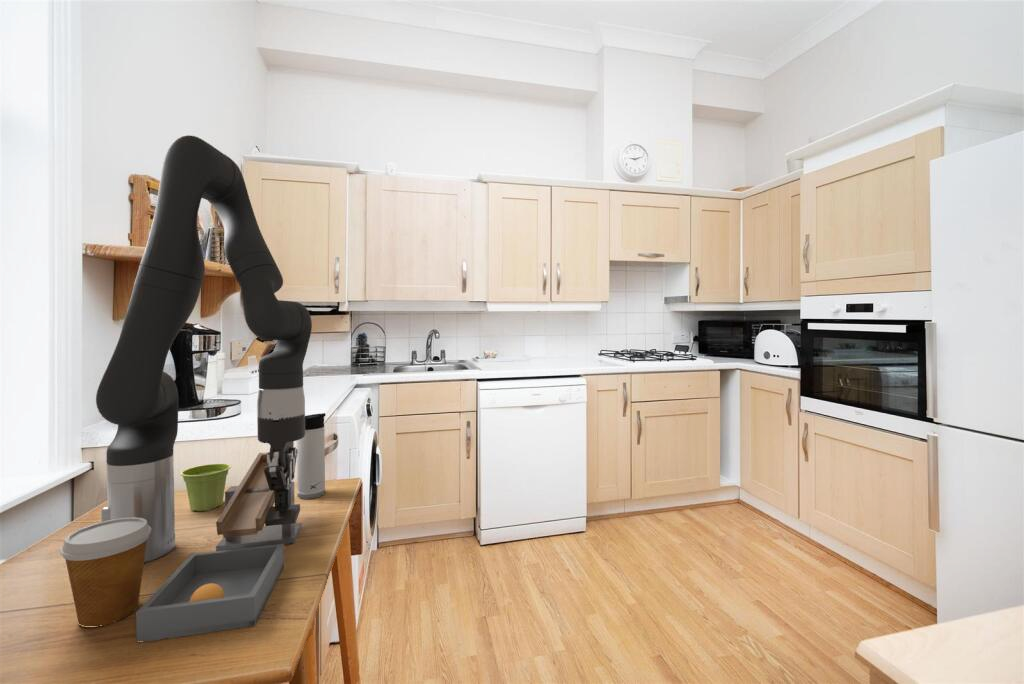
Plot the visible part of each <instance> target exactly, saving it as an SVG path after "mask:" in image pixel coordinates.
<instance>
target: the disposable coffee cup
mask: <svg viewBox="0 0 1024 684" xmlns="http://www.w3.org/2000/svg"><path fill="white" fill-rule="evenodd" d="M150 533H151V527H149V526H148V523H147V521H146V519H143V518H136V517H132V518H120V519H113V520H108V521H104V522H101V521H100V522H96V523H94V524H90V525H87V526H85V527H81V528H79V529H77V530H75V531H73V532H71V533H69V534H68V535H67V536H66V537H65V538H64V541H63V545H62V546H61V547H60V549H59V553H60V554H61V556H62V557H63V559H64V560H65V564H66V568H67V573H68V579H69V584H70V588H71V592H72V597H73V603H74V607H75V613H76V618H77V622H78V623H79V624H81V625H84V626H100V625H104V626H106V625H105V624H108V625H110V624H109V623H111V624H113V623H112V622H114V621H116V622H118V621H117V620H119V619H121V620H123V619H125V618H126V616H127V615H128V616H130V615H131V614H133V613H134V612H135V611H136V610H137V609H138V607H139V603H140V593H141V589H142V588H141V587H142V581H143V580H142V579H143V571H144V566H145V565H144V564H145V562H144V559H145V551H146V544H147V539H148V537H149V534H150ZM135 609H136V610H135ZM134 610H135V611H134ZM133 611H134V612H133ZM132 612H133V613H132ZM129 614H130V615H129ZM128 616H127V617H128ZM124 617H125V618H124ZM122 618H123V619H122ZM119 621H120V620H119ZM114 623H115V622H114ZM79 624H78V625H79Z"/></svg>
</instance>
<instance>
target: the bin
mask: <svg viewBox="0 0 1024 684" xmlns="http://www.w3.org/2000/svg"><path fill="white" fill-rule="evenodd" d="M284 546H285V544H277V545H268V546H259V547H249V548H240V549H231V550H221V551H216V550H213V551H205V552H204V551H203V552H197V553H191V554H190V555H189V556H188V557H187V558H186V559H185V560H184V561H183V562H182V563H181V564H180V566H178V567H177V569H176V570H175V571H174V572H173V573H172V574H171V575H170V576H169V577H168V578H167V579H166V580H165V582H163V583H162V584H161V585H160V586H159V587H158V589H157V590H156V591H155V592H154V593H153V594H152V595H151V596H150V597H149V598H148V599H147V600H146V601H145V602H144V604H142V606H140V608H139V609H138V610H136V614H135V615H136V621H135V622H136V643H137V642H138V641H139V642H140V641H148V642H155V641H161V640H160V639H162V640H166V639H165V638H168V639H174V638H181V636H182V637H188V636H195V635H201V634H202V635H203V634H208V633H215V632H221V631H228V630H235V629H242V628H243V629H244V628H248V627H255V626H256V625H257V622H258V620H259V618H260V616H261V614H262V613H263V611H264V608H265V606H266V605H267V602H268V600H269V598H270V596H271V594H272V592H273V590H274V587H275V586H276V583H277V582H278V580H279V578H280V575H281V574H282V572H283V570H284V568H285V555H284V553H285V551H284ZM209 583H214V584H217V585H219V586H220V587H221V588H222V589H223V591H224V598H217V599H209V600H201V601H194V602H189V601H190V598H191V596H192V594H193V593H194V592H195V591H196V590H197V589H198V588H199V587H201V586H203V585H205V584H209ZM154 640H155V641H154Z"/></svg>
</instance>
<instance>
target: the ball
mask: <svg viewBox="0 0 1024 684" xmlns="http://www.w3.org/2000/svg"><path fill="white" fill-rule="evenodd" d="M217 598H224V591H223V589H222V588H221V587H220V586H219V585H217V584H214V583H209V584H205V585H203V586H201V587H199V588H198V589H197V590H196V591H195V592H194V593H193V594H192V596H191V598H190V601H189V602H194V601H201V600H209V599H217Z"/></svg>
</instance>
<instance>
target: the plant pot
mask: <svg viewBox="0 0 1024 684" xmlns="http://www.w3.org/2000/svg"><path fill="white" fill-rule="evenodd" d="M231 467H232V466H231V464H228V463H210V464H201V465H196V466H193V467H188V468H186V469H184V470H182V471H181V472H180V476H182V480H183V481H184V484H185V487H186V491H187V496H188V504H189V509H190V510H191V511H193V512H194V511H198V512H204V511H209V510H213V509H216V508H217V507H218V506H219V505H220V506H222V505H223V504H224V498H225V491H226V490H225V489H226V483H227V482H226V481H227V476H228V475H229V470H230V469H231Z"/></svg>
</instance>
